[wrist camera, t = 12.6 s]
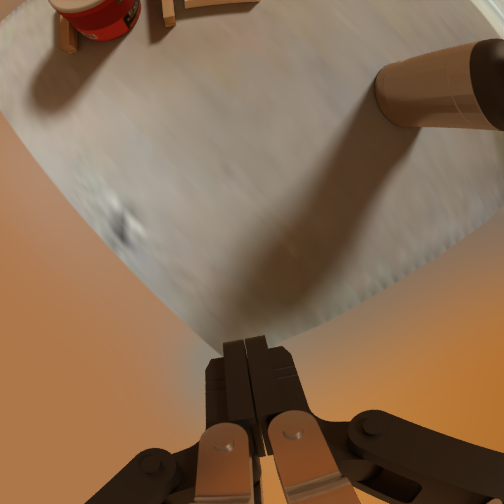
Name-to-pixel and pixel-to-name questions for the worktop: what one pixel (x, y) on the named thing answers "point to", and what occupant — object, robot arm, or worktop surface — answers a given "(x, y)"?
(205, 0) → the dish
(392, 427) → the robot arm
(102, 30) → the canned food
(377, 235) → the worktop surface
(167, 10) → the birch holder
